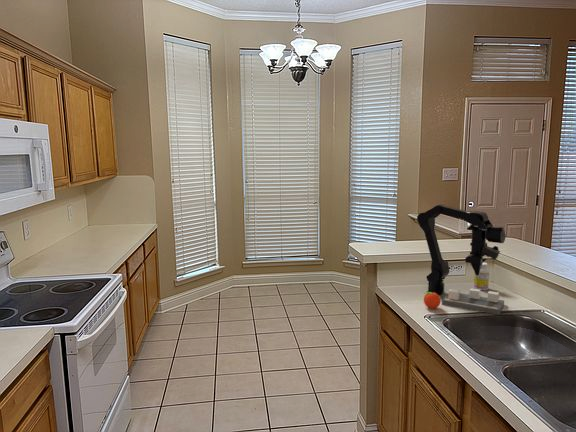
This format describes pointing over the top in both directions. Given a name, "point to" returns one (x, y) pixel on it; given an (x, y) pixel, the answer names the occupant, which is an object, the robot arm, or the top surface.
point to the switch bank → (475, 304)
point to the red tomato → (431, 300)
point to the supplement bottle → (482, 278)
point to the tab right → (493, 296)
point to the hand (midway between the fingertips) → (477, 275)
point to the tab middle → (474, 293)
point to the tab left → (454, 294)
